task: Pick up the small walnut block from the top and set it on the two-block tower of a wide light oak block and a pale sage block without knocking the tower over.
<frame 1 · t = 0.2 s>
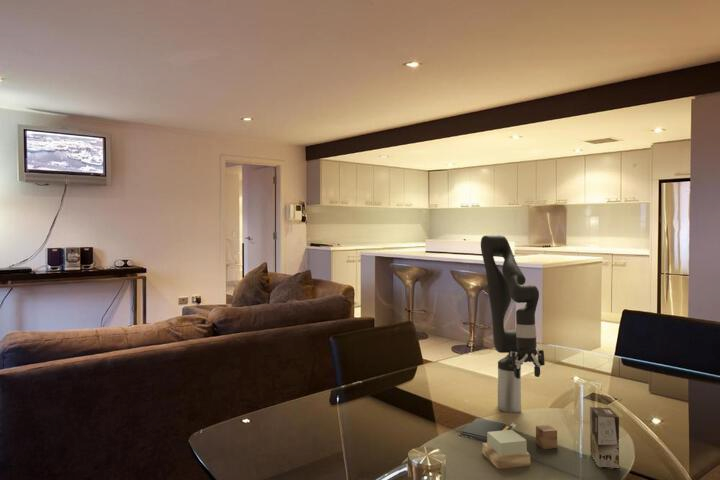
hand: (527, 377, 186), 17 cm above the table, tool pointing down, fingers open, 8 cm apart
tower top: (506, 448, 154), point 3 cm above the table, touching tower base
walnut block: (546, 445, 165), on the table
dark grey book: (485, 432, 178), on the table
coffee box: (604, 462, 152), on the table
tower base: (505, 460, 154), on the table, touching tower top
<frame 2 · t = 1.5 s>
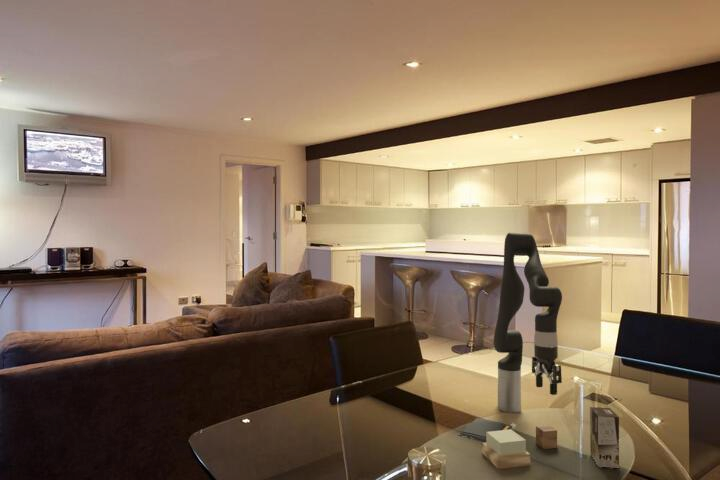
hand: (546, 390, 165), 19 cm above the table, tool pointing down, fingers open, 8 cm apart
tower top: (505, 448, 154), point 4 cm above the table
tower base: (505, 460, 154), on the table
everything else where it was.
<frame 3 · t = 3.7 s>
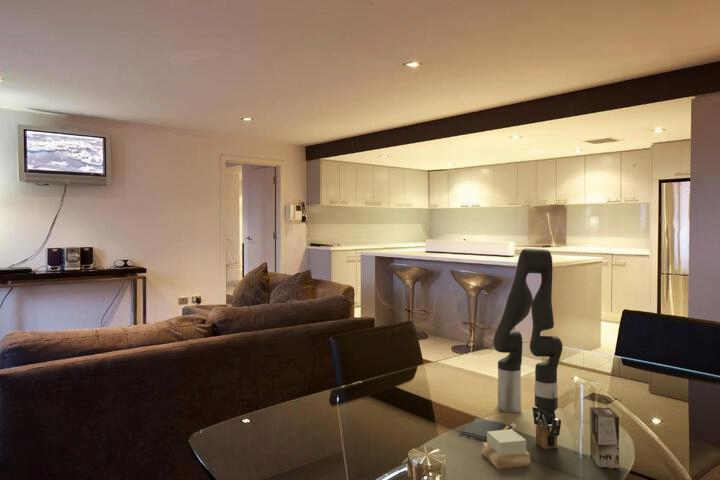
hand: (546, 442, 165), 1 cm above the table, tool pointing down, fingers closed on walnut block, 5 cm apart
tower top: (506, 448, 154), point 4 cm above the table, touching tower base
walnut block: (546, 445, 165), on the table, touching gripper
tower base: (505, 460, 154), on the table, touching tower top
everything else where it was.
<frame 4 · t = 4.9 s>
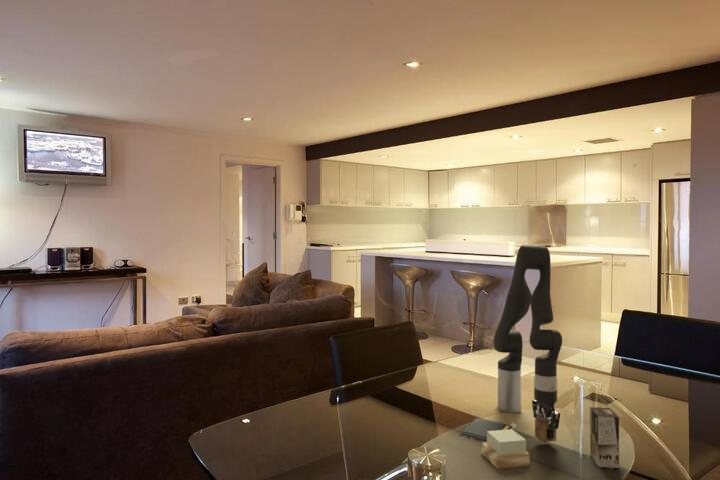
hand: (545, 435, 165), 3 cm above the table, tool pointing down, fingers closed on walnut block, 5 cm apart
walnut block: (545, 438, 165), point 2 cm above the table, touching gripper
everything else where it was.
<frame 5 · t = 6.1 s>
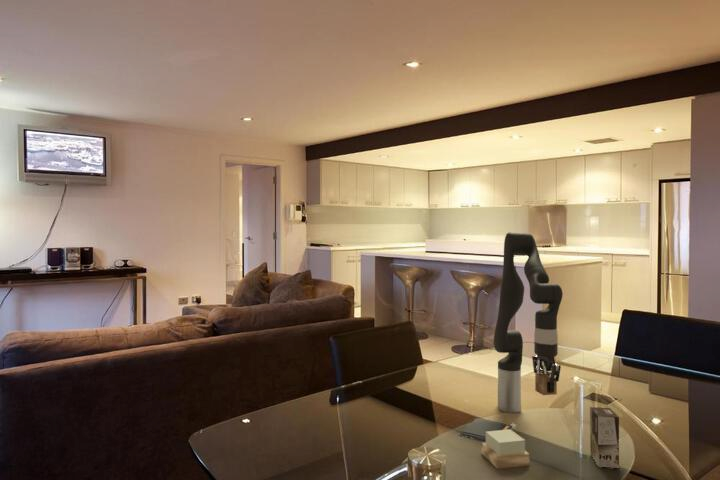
hand: (545, 389, 165), 19 cm above the table, tool pointing down, fingers closed on walnut block, 5 cm apart
tower top: (504, 448, 155), point 3 cm above the table
walnut block: (545, 392, 165), point 18 cm above the table, touching gripper
tower base: (504, 460, 155), on the table
everything else where it was.
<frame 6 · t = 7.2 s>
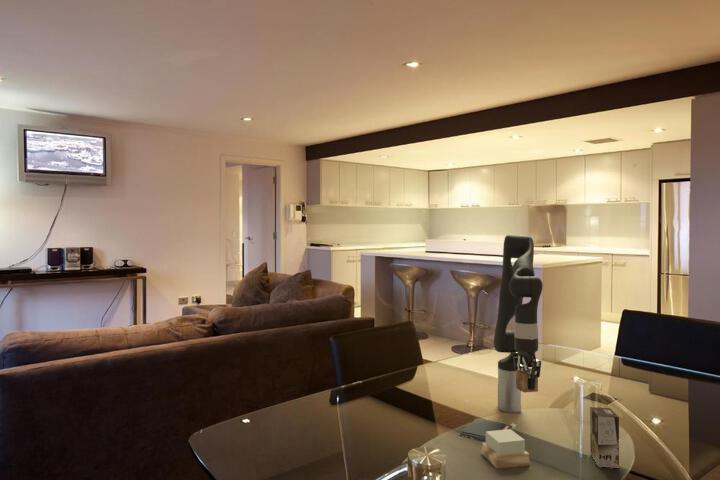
hand: (526, 386, 159), 22 cm above the table, tool pointing down, fingers closed on walnut block, 5 cm apart
walnut block: (526, 389, 159), point 21 cm above the table, touching gripper
everything else where it was.
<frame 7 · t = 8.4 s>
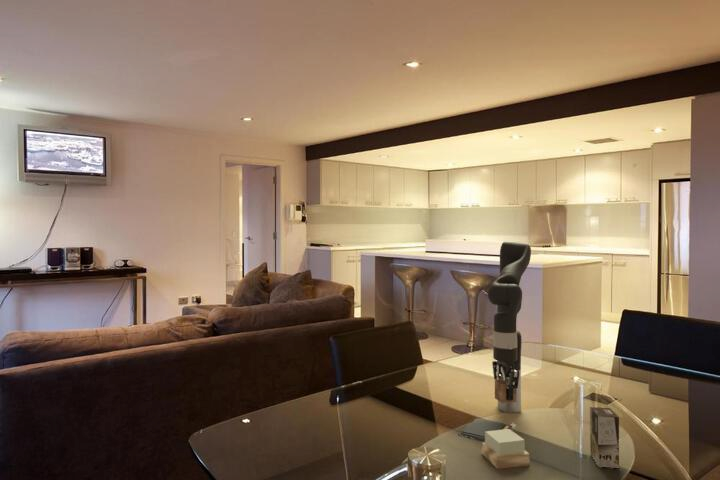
hand: (505, 397, 155), 20 cm above the table, tool pointing down, fingers closed on walnut block, 5 cm apart
tower top: (504, 447, 155), point 4 cm above the table, touching tower base
walnut block: (505, 400, 155), point 19 cm above the table, touching gripper
tower base: (505, 460, 154), on the table, touching tower top
everything else where it was.
when the fingers open (10 cm above the table, at t = 11.3 s): walnut block drops 2 cm, resting on tower top.
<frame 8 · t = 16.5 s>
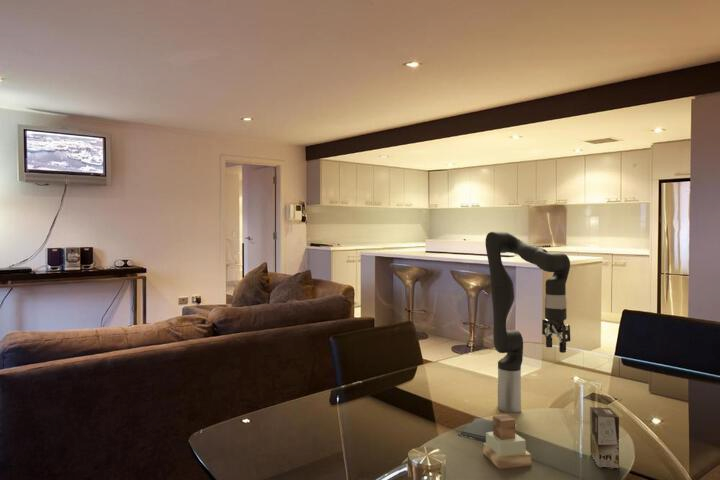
hand: (555, 349, 178), 30 cm above the table, tool pointing down, fingers open, 8 cm apart
tower top: (505, 448, 154), point 3 cm above the table, touching tower base, walnut block
walnut block: (504, 435, 155), point 7 cm above the table, touching tower top
everything else where it was.
at the end: walnut block 0.4 cm off-centre on the tower top, point 4.0 cm above the tower top's base; walnut block tilted 1°; tower top 0.3 cm off-centre on the tower base, point 4.0 cm above the tower base's base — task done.
